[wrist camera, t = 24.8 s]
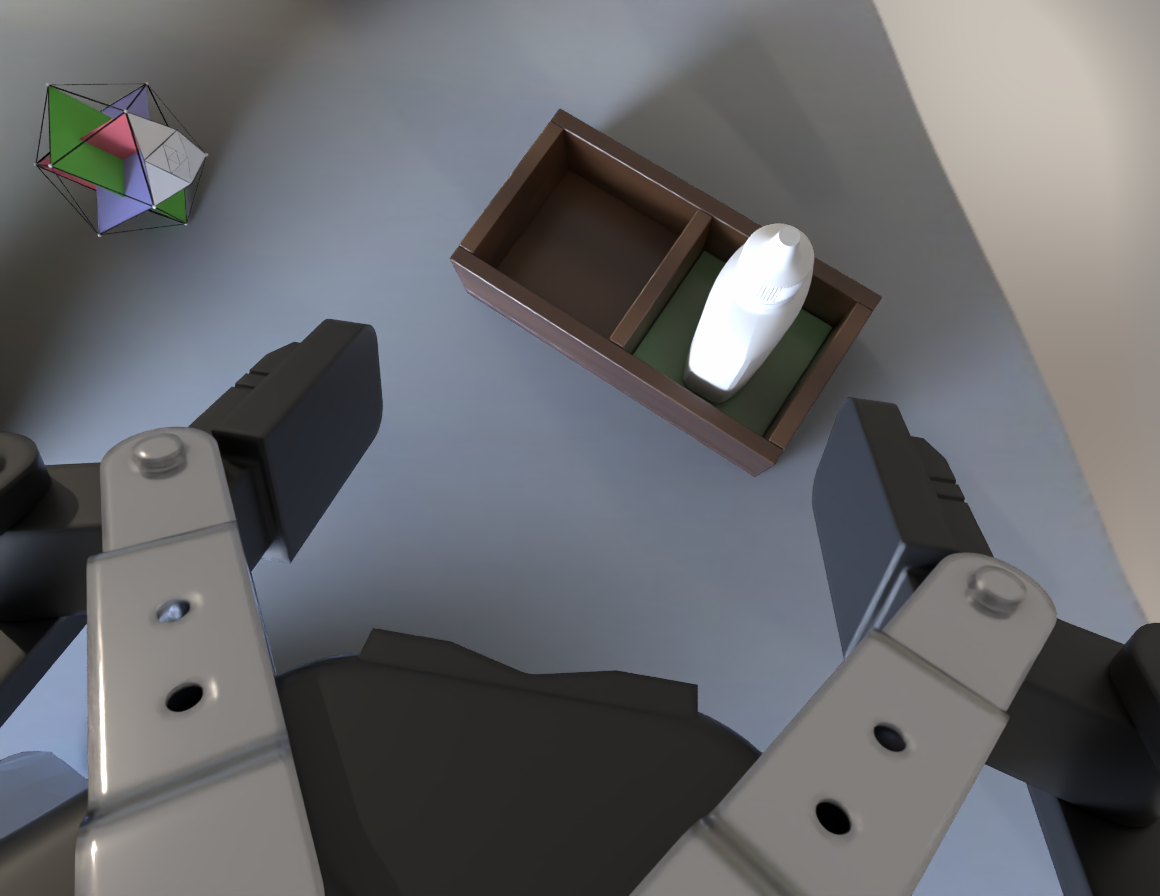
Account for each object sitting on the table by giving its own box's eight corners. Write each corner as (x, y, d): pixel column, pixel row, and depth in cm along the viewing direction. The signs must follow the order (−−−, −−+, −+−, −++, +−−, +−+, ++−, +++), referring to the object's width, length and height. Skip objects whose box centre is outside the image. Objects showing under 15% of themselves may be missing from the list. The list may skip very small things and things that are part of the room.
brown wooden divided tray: (755, 477, 34) (774, 465, 30) (466, 292, 36) (448, 258, 32) (851, 327, 35) (882, 296, 31) (565, 157, 37) (559, 107, 33)
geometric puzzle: (38, 250, 35) (26, 162, 29) (35, 129, 36) (22, 18, 30) (198, 267, 39) (219, 193, 33) (191, 158, 41) (209, 66, 34)
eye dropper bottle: (800, 359, 34) (902, 249, 22) (701, 416, 34) (750, 334, 22) (753, 286, 35) (827, 142, 23) (655, 341, 34) (678, 223, 23)
